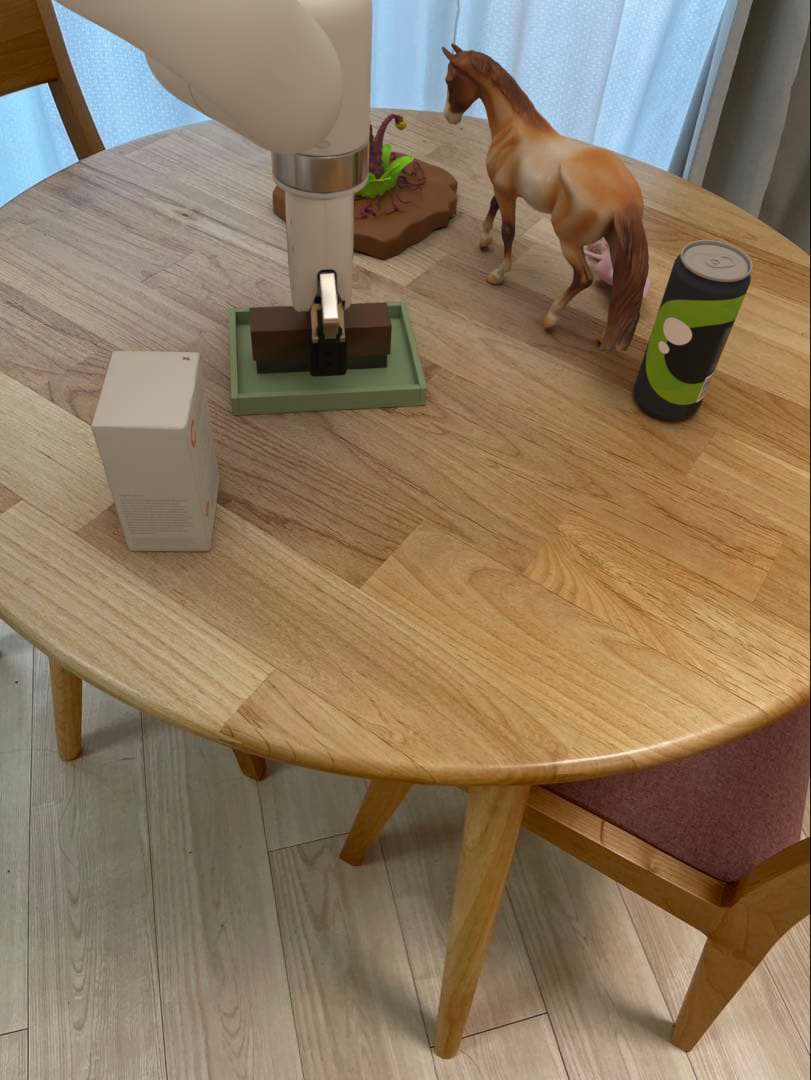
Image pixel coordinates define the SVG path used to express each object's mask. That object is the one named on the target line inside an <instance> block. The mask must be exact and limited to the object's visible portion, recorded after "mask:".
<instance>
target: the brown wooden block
mask: <svg viewBox="0 0 811 1080" xmlns="http://www.w3.org/2000/svg"><path fill="white" fill-rule="evenodd" d="M387 302H388V301H386V302H361V303H360V302H359V303H357V302H356V303H351V305H350V307H349V308H348V309H346V310H345V311H344V327H345V334H346V336H347V370H349V369H370V368H387V356H388V355H390V353H391V334H392V324H391V319H390V315H389V310H388V306H387ZM248 308H249V314H250V333H251V343H252V353H253V361H256V366H257V374H266V373H287V372H307V371H310V363H309V336H312V331H311V316H310V309H309V311H301V312H298V311H296V310H295V309H294V307H293V305H282V306H281V305H280V306H278V305H277V306H253V307H248ZM343 310H344V309H343ZM317 320H318V328H319V325H321V324H322V312H317Z"/></svg>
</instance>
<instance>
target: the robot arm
mask: <svg viewBox="0 0 811 1080" xmlns="http://www.w3.org/2000/svg"><path fill="white" fill-rule="evenodd" d="M54 1H55V2H56V3H57V4H59V5H61V6H62V7H64V8H66V9H67V10H69V11H71V12H73V13H75V14H76V15H78V16H79V17H81V18H84V20H87V21H88V22H91V23H93V24H95V25H97V26H99V27H100V28H102V29H104V30H105V31H108V32H110V33H111V34H113V35H114V36H116V37H118V38H120V39H122V41H123V40H124V42H127V43H128V44H129V45H131V46H133V47H135V48H136V49H138V50H140V51H141V52H142V53H144V57H145V61H146V64H147V66H148V68H149V70H150V72H151V73H152V75H153V77H154V78H155V80H156V81H157V82H158V83H159V84H160V85H161V87H162V88H163V89H165V91H167V92H168V93H169V94H171V95H172V96H173V97H175V98H176V99H177V100H178V101H180V102H182V103H184V104H185V105H187V106H189V107H191V108H193V110H196V111H197V112H199V113H201V114H203V116H206V117H208V118H209V119H211V120H213V121H216V122H218V123H219V124H220V125H223V126H224V127H226V128H228V129H229V130H231V131H233V132H235V133H236V134H238V135H240V136H242V137H243V138H245V140H248V141H250V142H251V143H252V144H255V145H256V146H258V147H259V148H261V149H263V150H265V151H268V152H270V159H271V160H270V161H271V176H272V177H271V178H272V181H273V182H274V184H275V185H276V186H277V185H278V187H279V188H281V189H282V190H284V191H285V206H286V221H285V225H286V227H285V229H286V246H287V265H288V267H287V268H288V276H289V286H290V287H289V288H290V296H291V303H292V306H293V307H294V309H295V310H296V311H298V312H301V311H309V309H310V316H311V331H312V336H309V363H310V375H311V376H313V377H319V376H340V375H345V374H346V372H347V336H346V334H345V327H344V311H345V310H346V309H348V308H349V307H350V305H351V304H352V296H353V295H352V294H353V277H354V276H353V275H354V274H353V272H354V271H353V270H354V250H353V242H354V193H357V192H358V191H360V190H361V189H362V188H363V187H365V185H366V184H367V182H368V177H369V142H370V136H369V135H370V124H371V94H372V92H371V91H372V57H373V21H374V20H373V18H374V17H373V14H374V13H373V11H374V10H373V0H54ZM343 309H344V310H343ZM317 312H322V324H321V325H319V328H318V320H317Z"/></svg>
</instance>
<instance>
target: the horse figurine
mask: <svg viewBox="0 0 811 1080" xmlns="http://www.w3.org/2000/svg"><path fill="white" fill-rule="evenodd" d="M450 46H451V48H452V49H453V51H454V53H452V52H451V51H450V50H448V49H447V48H446V47H445V46H441V50H442V53H443V54H444V56H445V57H446V58H447V60H448V61H449V62H448V63H447V73H446V76H445V77H444V81H445V83H446V86H447V88H446V99H445V103H444V109H443V110H442V114H443V117H444V119H445V120H447V123H448V124H449V125H456V126H457V125H459V124H460V123H461V121H462V119H463V118H462V117H463V115H464V114H465V113H466V112H467V111H468V110H469V108H471V106H472V105H473V104H474V103H475V102H476V101H477V100H478V99H480V100H481V102H482V105H483V107H484V109H485V113H486V118H487V121H488V126H489V130H490V137H491V143H490V145H489V147H488V150H487V154H486V159H485V168H486V174H487V176H488V178H489V180H490V182H491V184H492V186H493V194H494V195H493V196H492V198H491V199H490V202H489V209H488V212H487V214H486V216H485V218H484V220H483V222H482V231H481V233H480V240H479V242H478V247H479V248H484V247H487V246H489V245H492V244H493V240H494V237H493V234H492V233H491V230H492V229H493V228H494V227H493V226H494V221H495V219H496V216H497V213H498V211H499V212H500V216H501V226H500V232H501V233H500V234H501V239H502V242H503V257H502V261H501V263H500V266H499V268H495V269H493V270H492V271H491V272H490V273H489V274H488V276H487V277H486V281H487V282H488V283H490V284H493V285H500V284H502V282H503V280H505V274H508V273H510V272H511V270H512V267H513V266H512V250H513V243H514V239H515V236H516V210H517V209H516V208H517V207H516V206H517V198H521V199H523V200H524V202H526V204H528V205H529V206H530V207H531V208H532V209H533V210H535V211H537V212H538V213H539V212H540V213H542V214H545V215H550V223H551V225H552V229H553V231H554V234H555V236H556V237H557V238H558V240H559V244H560V250H561V253H562V255H563V257H564V259H565V260H566V262H567V263H568V264H569V266H570V267H571V268H572V270H573V276H572V281H571V283H570V285H569V286H568V287H567V288H566V290H565V291H564V292H563V293H561V294H560V295H559V296H558V297H557V298H555V299H554V300H553V301H552V303H551V306H550V308H549V310H548V311H547V313H546V315H545V320H544V323H543V328H544V329H548V328H551V327H553V326H555V325H558V324H559V323H560V315H559V312H561V311H564V309H565V308H566V307H567V305H568V304H569V303H570V302H571V301H572V300H573V299H574V298H575V297H576V296H577V295H578V294H580V293H581V292H582V291H584V290H587V289H588V288H590V287H591V286H592V285H593V282H594V280H595V279H594V278H595V276H594V274H593V271H592V270H591V268H590V267H589V264H588V262H587V258H586V255H585V254H584V250H583V249H584V247H585V246H586V247H587V245H589V244H592V243H595V242H597V241H599V240H600V239H601V238H603V237H604V239H605V240H606V241H607V243H608V245H609V250H610V257H611V263H612V268H613V286H612V289H611V292H610V295H609V301H608V310H607V319H606V326H605V329H604V330H603V331H602V332H601V333H599V335H598V336H597V337H596V338H597V341H599V343H600V345H599V347H598V351H599V352H602V351H605V352H606V353H607V352H610V351H611V350H612V349H614V350H615V351H616V352H617V353H620V352H626V351H628V348H629V347H630V346H631V343H632V340H633V339H634V335H635V333H636V330H637V325H638V323H639V320H640V317H641V315H640V314H641V307H642V302H643V300H644V299H643V292H644V287H645V284H646V279H647V276H648V275H649V269H650V264H649V261H650V255H649V244H648V239H647V235H646V230H645V227H644V223H643V215H644V208H645V203H644V198H643V193H642V190H641V189H642V188H641V186H640V185H639V182H638V181H637V179H636V178H635V176H634V175H633V173H632V172H631V171H630V169H629V168H628V167H627V166H626V164H625V163H624V162H623V160H622V159H621V158H620V157H619V156H617V154H615V153H614V152H612V151H611V150H609V149H607V148H603V147H597V146H589V145H585V144H582V143H580V142H577V141H574V140H572V139H570V138H567V137H565V136H563V135H561V134H560V133H559V132H558V131H557V130H556V129H555V128H554V127H553V126H552V125H551V124H550V123H549V121H548V120H547V119H546V118H545V117H544V116H543V115H542V114H541V113H540V112H539V111H538V110H537V109H536V107H535V105H534V103H533V101H532V100H531V99H530V98H529V96H528V95H527V93H526V92H525V91H524V90H523V89H522V87H521V86H520V85H519V84H518V82H517V80H516V79H515V78H514V77H513V75H511V74H510V73H509V72H508V70H506V69H505V68H504V67H503V66H502V65H501V64H500V63H499V62H498V61H496V60H495V59H494V58H493V57H492V56H490V55H488V54H485V53H484V52H481V51H476V50H474V49H469V50H464V49H462V48H461V47H460V46H459V45H457V44H455V43H454V42H452V43H451V44H450Z"/></svg>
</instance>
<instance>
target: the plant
mask: <svg viewBox="0 0 811 1080" xmlns="http://www.w3.org/2000/svg"><path fill="white" fill-rule="evenodd" d="M393 119H394V125H395V127H396V129H397V130H399V131H404V130H405V129H406V128H407V120H406V118H404V116H402V115H400V114H395V113H391V114H388V115H387V117H385V118H384V120H383V121H381V124H379V127H378V128H379V129H377V132H376V134H375V136H374V135H373V125H372V124H371V123H370V135H369V136H370V142H369V177H368V182H367V184H366V185H365V187H363V188H362V189H361V190H360V191H358V192H357V193H354V242H353V252H354V251H355V252H357V253H358V252H359V253H362V254H365V255H368V256H371V257H375V258H377V259H380V260H386V259H388V258H390V257H395V256H397V255H399V254H401V253H402V252H403V251H404V250H405V249H407V248H408V247H410V246H412V245H414V244H417V243H420V242H421V241H423V240H424V239H425V238H426V237H428V236H429V234H431V232H433V231H434V230H437V229H441V228H446V227H448V226H449V223H450V222H449V221H450V218H449V217H450V216H453V215H454V214H455V213H456V214H457V206H458V195H457V194H458V193H457V192H458V187H459V185H458V180H457V179H456V177H454V176H453V174H452V173H450V172H449V171H448V170H447V169H444V168H442V167H439V166H437V165H434V164H431V163H429V162H426V161H423V160H421V159H419V158H417V157H414V156H413V155H408V154H406V153H403V152H399V151H392V144H391V143H386V144H384V137H385V133H386V130H387V128H388V126H389V123H390V122H392V120H393ZM271 196H272V197H271V198H272V210H273V213H275V214H276V216H277V217H279V218H281V219H282V220H283V221H284V222H286V206H285V191H284V190H282V189H281V188H279V187H278V185H277V184H276V186H275V187H274V189H273V190H272V194H271ZM456 214H455V215H456ZM453 217H454V216H453ZM445 226H446V227H445ZM440 227H441V228H440Z"/></svg>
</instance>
